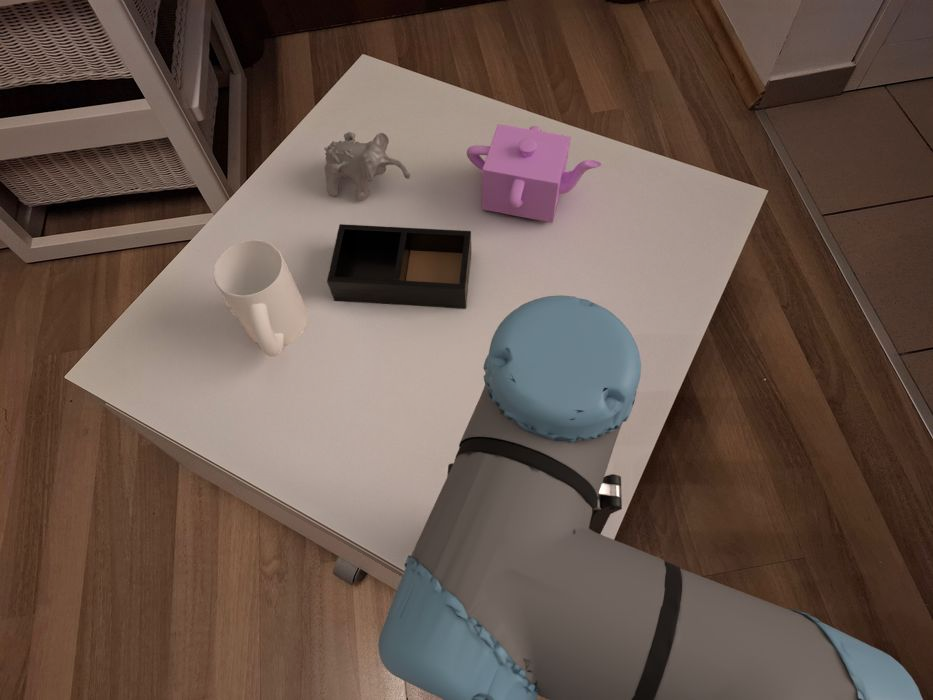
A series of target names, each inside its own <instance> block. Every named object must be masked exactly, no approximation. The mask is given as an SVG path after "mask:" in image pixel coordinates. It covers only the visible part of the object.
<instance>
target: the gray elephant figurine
mask: <svg viewBox="0 0 933 700" xmlns="http://www.w3.org/2000/svg"><path fill="white" fill-rule="evenodd" d="M343 138H344V141H342V140H338V141H334V140H332V141H331V143H330V144H329V145H327V147H326V146H325V147H324V148H323V150H324V151H325V165H324V174H325V178H326V179H325V180H326V190H327V193H328V194H329V195H330V196H332V197H334V196H335V197H336V196H337V195H338V193H339V186H338V185H339V183H338V182H339V180H340V178H342V177H345V178H351V179H352V180H353V181H354V184H355V197H356V199H357V200H358V201H364V200H366V199H367V198H368V197H369V195H370V190H369V184H370V181H371V182H372V181H373V179H374V178H375V176H381V175H383V174H385V172H386V170H387V166H396V167H398V168H399V169H400V170H401V171H402V173H403V174H402V175H403V177H404V178H405V179H407V180H409V179H410V178H411V174H410V172H409V171H408V170H407V168H406V166H405V165H404V164H403V163H402V161H400V160H399V159H395V158H392V157H389V156H388V155H387V153H386V151H387V148H388V144H389V141H390V140H389V136H387V134H385V133H384V132H378V133H377V134H376V135H375V136H374V139H372V140H370V141H368V142H366V143H365V142H359V141H356V134H355V132H351V131H348V132H346V133H344V134H343Z"/></svg>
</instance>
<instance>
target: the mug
mask: <svg viewBox="0 0 933 700" xmlns="http://www.w3.org/2000/svg"><path fill="white" fill-rule="evenodd" d="M213 281H214V283H215V285H216V286H215V287H217V289H218V290H219V292H220V294H221V296H222V297H223V301H224V303H225V305H226V306H227V307H228V308H229V311H230V312H231V314H232V316H233V317H234V318H237V319H238V321H239V322H240V324H241V325H242V327H243V328H244V331H246V333H247V334H248V336H249V338H251V340H252V341H254V343H257V344H258V345H259V348H260V350H261V351H262V352H263V353H264V354H265V355H267V356H269V357H277V356H279V355H280V354H281V352H282V351H283V349H284V346H287V345H289V344H291V343H293V342H294V341H296V340H297V339H298V338H300V336H301V335H303V333H304V331H305V329H306V327H307V325H308V320H309V312H308V309H307V305H306V304H305V302H304V299H303V297H302V295H301V294H300V291H299V289H298V287H297V285H296V282H295V280H294V278H293V276H292V273H291V271H290V269H289V267H288V265H287V263H286V261H285V259H284V256H283V255H282V253H281V251H280V250H279V249H278V247H276V246H275V245H273V244H272V243H270V242H267V241H265V240H260V239H249V240H248V239H247V240H243V241H239V242H237V243H235V244H232V245H231V246H229V247H228V248H226V249H225V250H224V251H223V252H222V253H221V254H220V255H219V256H218V258H217V260H216V262H215V264H214V267H213Z"/></svg>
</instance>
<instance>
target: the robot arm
mask: <svg viewBox="0 0 933 700" xmlns="http://www.w3.org/2000/svg"><path fill="white" fill-rule="evenodd" d="M483 371H484V373H485V374H484V375H483V381H484V382H483V383H484V386H483V389H482V392H481V395H480V397H479V399H478V401H477V403H476V405H475V408H474V410H473V412H472V413H471V414H472V415H471V417H470V419H469V421H468V423H467V426H466V428H465V430H464V432H463V435H462V436H461V439H460V441H459V443H458V447H459V448H458V450H457V452H456V455H455V457H454V461H453V462H452V463H448V466H447V474H446V479H445V481H444V483H443V485H442V487H441V489H440V492H439V493H438V496H437V497H436V501H435V502H434V505H433V507H432V509H431V511H430V514H429V515H428V517H427V520H426V522H425V524H424V526H423V528H422V531H421V533H420V535H419V537H418V540H417V542H416V543H415V545H414V547H413V550H412V552H411V555H407V558H406V560H405V562H404V563H403V564H404V571H403V573H402V576H401V579H400V581H399V584H398V586H397V588H396V592H395V594H394V597H393V599H392V602H391V604H390V607H389V609H388V612H387V616H386V618H385V621H384V623H383V626H382V629H381V631H380V634H379V637H378V654H379V659H380V660H381V663H382V665H383V666H384V668H385V669H386V670H387V671H388V672H389V673H390V674H391V675H393V676H395V677H396V678H398V679H400V680H402V681H404V682H406V683H408V684H410V685H412V686H414V687H416V688H418V689H420V690H422V691H424V692H426V693H428V694H431V695H432V696H435V697H437V698H439V699H442V700H538V696H539V697H541V698H544V699H546V700H924V699H923V697H922V694H921V692H920V689H919V687H918V685H917V684H916V682H915V680H914V679H913V677H912V675H910V673H909V672H908V671H907V670H906V668H905V667H904V666H903V665H902V664H901V663H900V662H899V661H897V660H896V659H895V658H894V657H892V656H891V655H890V654H888V653H887V652H884V651H883V650H881V649H879V648H876V647H874V646H872V645H870V644H868V643H865V642H864V641H862V640H859V639H858V638H855V637H854V636H851V635H849V634H847V633H845V632H843V631H841V630H838V629H837V628H834V627H832V626H830V625H828V624H826V623H824V622H822V621H821V620H819V619H818V618H816V617H814V616H812V615H810V613H808V612H804V611H799V610H797V609H795V608H793V609H788V608H785V607H782V606H780V605H777V604H774V603H772V602H769V601H767V600H764V599H762V598H759V597H756V596H755V595H751V594H748V593H746V592H743V591H741V590H738V589H736V588H733V587H730V586H728V585H725V584H722V583H720V582H717V581H715V580H712V579H709V578H707V577H704V576H702V575H699V574H697V573H694V572H691V571H688V570H686V569H683V568H681V567H679V566H678V565H676V564H674V563H671V562H668V561H666V560H664V559H662V558H660V557H659V556H655V555H654V554H651V553H649V552H648V553H647V552H645V551H643V550H640V549H638V548H635V547H633V546H630V545H628V544H625V543H623V542H620V541H618V540H616V539H613V538H610V537H608V536H605V535H603V534H602V532H603V530H604V528H605V526H606V524H607V523H608V520H609V518H610V516H611V515H612V514H614V513H616V512H618V511H620V510H622V509H623V499H622V497H623V496H622V476H620V475H619V474H613V473H612V474H607V475H606V472H607V470H608V467H609V464H610V461H611V457H612V455H613V452H614V448H615V446H616V441H617V438H618V437H619V433H620V430H621V428H622V425H623V423H625V422H627V421H628V418H630V415H631V413H632V410H633V407H634V404H635V400H636V397H637V391H638V388H639V384H640V380H641V375H642V374H641V372H642V361H641V355H640V350H639V347H638V345H637V342H636V339H635V338H634V336H633V334H632V332H631V331H630V330H629V328H628V327H627V326H626V324H624V322H623V321H622V320H621V319H620V318H619V317H618V316H616V315H615V314H614V313H613V312H612V311H610V310H609V309H607V308H606V307H604V306H602V305H599V304H598V303H595V302H593V301H591V300H589V299H586V298H580V297H576V296H571V295H548V296H542V297H539V298H535V299H533V300H530V301H527V302H526V303H525V302H524V303H523V304H521V305H520V306H518V307H517V308H515V309H514V310H512V311H511V312H510V313H509V314H507V315H506V316H505V318H503V320H502V321H501V322H500V323H499V325H498V326H497V328H496V330H495V332H494V333H493V336H492V338H491V341H490V345H489V350H488V355H487V356H486V358H485V359H484V363H483Z"/></svg>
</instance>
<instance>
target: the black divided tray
mask: <svg viewBox="0 0 933 700" xmlns="http://www.w3.org/2000/svg"><path fill="white" fill-rule="evenodd" d="M334 243H335V244H334V246H333V247H334V248H333V252H332V256H331V262H330V266H329V269H328V274H327V280H326V283H327V286H328V287H329V290H330V293H331V296H332V298H333V301H334V302H347V303H363V304H364V303H365V304H381V305H394V306H395V305H396V306H397V305H398V306H414V307H428V308H429V307H431V308H449V309H463V310H464V309H467V303H468V302H467V301H468V293H469V291H468V290H469V282H470V281H469V280H470V270H471V263H472V262H471V261H472V231H471V230H460V229H458V230H457V229H442V228H441V229H439V228H419V227H402V226H401V227H400V226H383V225H380V226H379V225H363V224H361V225H360V224H345V223H344V224H343V223H340V224H339V225H338V229H337V233H336V239H335V242H334Z"/></svg>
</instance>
